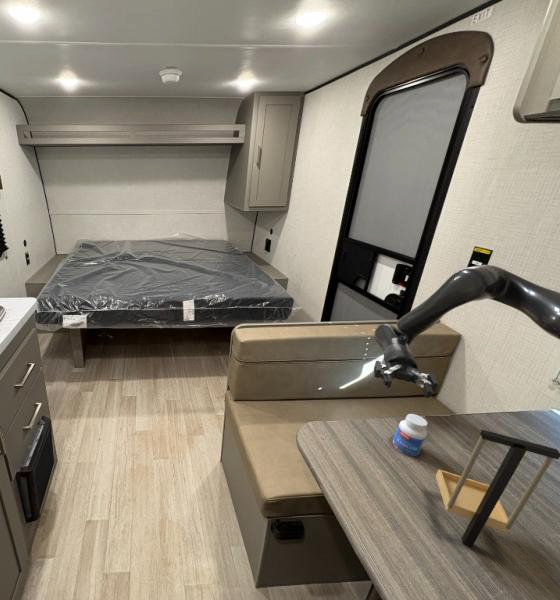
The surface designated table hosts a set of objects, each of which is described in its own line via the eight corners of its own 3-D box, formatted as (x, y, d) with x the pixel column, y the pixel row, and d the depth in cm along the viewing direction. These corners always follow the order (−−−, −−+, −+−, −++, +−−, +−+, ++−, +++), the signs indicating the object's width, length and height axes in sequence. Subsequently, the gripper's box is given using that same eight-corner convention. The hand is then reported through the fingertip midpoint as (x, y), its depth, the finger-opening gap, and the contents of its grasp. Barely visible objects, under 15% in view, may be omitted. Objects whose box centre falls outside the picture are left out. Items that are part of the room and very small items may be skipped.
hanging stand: (478, 515, 64) (532, 417, 54) (497, 562, 56) (563, 457, 47) (424, 496, 67) (466, 401, 58) (435, 538, 60) (485, 436, 50)
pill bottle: (389, 450, 79) (400, 419, 75) (393, 438, 82) (404, 408, 79) (417, 463, 75) (430, 431, 71) (419, 449, 79) (432, 418, 75)
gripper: (375, 344, 99) (380, 370, 86) (432, 355, 93) (447, 386, 79) (369, 364, 102) (373, 393, 88) (424, 376, 96) (437, 410, 82)
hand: (408, 390), depth 84 cm, fingers open, 8 cm apart
